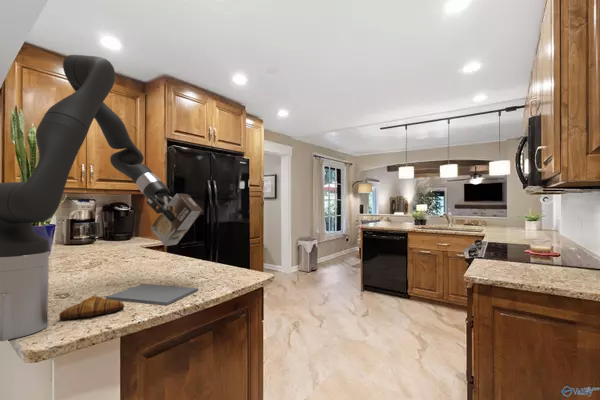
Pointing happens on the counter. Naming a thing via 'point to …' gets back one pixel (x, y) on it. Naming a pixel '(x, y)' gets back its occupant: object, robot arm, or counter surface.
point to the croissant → (91, 308)
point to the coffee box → (176, 219)
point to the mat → (153, 294)
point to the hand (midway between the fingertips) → (180, 219)
